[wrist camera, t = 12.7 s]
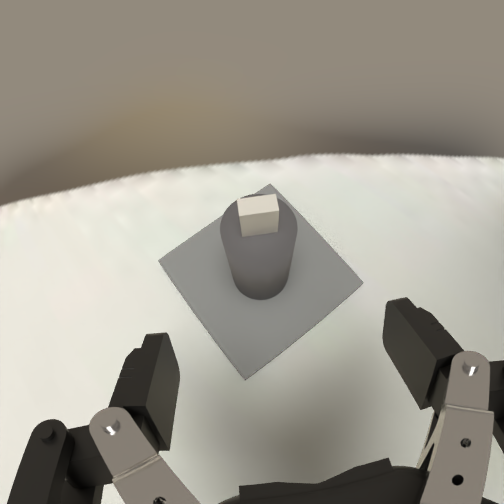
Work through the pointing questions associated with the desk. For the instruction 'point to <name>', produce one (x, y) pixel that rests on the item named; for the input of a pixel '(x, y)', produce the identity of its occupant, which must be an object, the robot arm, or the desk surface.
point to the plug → (259, 244)
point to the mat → (259, 311)
